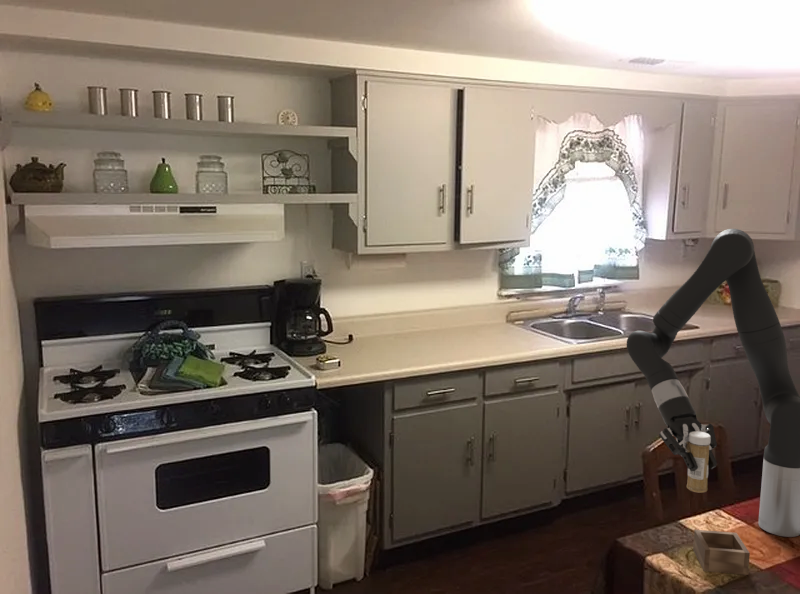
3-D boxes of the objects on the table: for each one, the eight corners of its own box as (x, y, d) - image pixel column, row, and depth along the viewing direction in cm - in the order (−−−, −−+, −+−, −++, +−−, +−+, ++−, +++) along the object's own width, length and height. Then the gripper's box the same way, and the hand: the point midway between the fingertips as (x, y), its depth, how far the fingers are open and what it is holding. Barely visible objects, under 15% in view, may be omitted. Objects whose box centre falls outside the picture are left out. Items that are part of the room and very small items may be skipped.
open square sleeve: (734, 553, 154) (736, 532, 153) (748, 574, 145) (749, 553, 145) (693, 549, 156) (694, 529, 155) (703, 570, 147) (705, 549, 146)
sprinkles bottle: (711, 490, 157) (715, 434, 155) (699, 495, 155) (703, 438, 153) (693, 483, 161) (696, 429, 159) (681, 488, 159) (685, 433, 157)
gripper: (654, 397, 160) (685, 465, 150) (706, 392, 164) (739, 458, 154) (640, 412, 166) (669, 478, 156) (690, 407, 170) (721, 471, 160)
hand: (703, 468), depth 155 cm, fingers closed on sprinkles bottle, 4 cm apart
